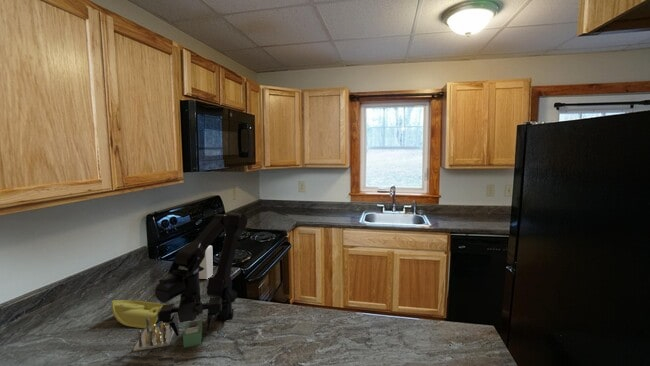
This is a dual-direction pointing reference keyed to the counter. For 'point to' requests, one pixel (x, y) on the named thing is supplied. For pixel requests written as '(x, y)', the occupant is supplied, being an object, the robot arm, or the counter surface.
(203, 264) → the white peg figure
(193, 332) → the green block
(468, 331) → the counter surface
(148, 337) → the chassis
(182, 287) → the robot arm
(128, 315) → the plastic component
